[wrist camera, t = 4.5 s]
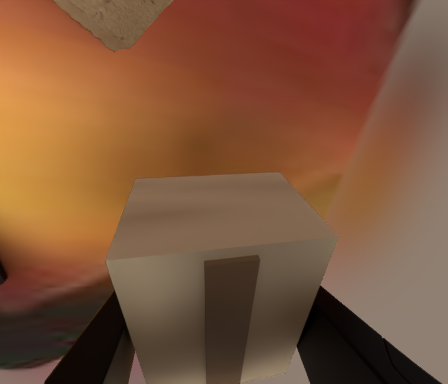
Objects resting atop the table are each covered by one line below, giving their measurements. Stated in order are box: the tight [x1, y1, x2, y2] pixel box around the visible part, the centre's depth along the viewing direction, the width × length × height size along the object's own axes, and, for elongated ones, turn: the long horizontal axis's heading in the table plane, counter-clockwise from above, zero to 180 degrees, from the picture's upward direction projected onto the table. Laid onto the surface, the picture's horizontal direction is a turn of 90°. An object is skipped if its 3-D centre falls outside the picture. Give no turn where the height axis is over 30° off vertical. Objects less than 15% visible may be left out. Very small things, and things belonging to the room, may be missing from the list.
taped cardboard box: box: [105, 172, 339, 384], centre depth 8 cm, size 7×5×4 cm
